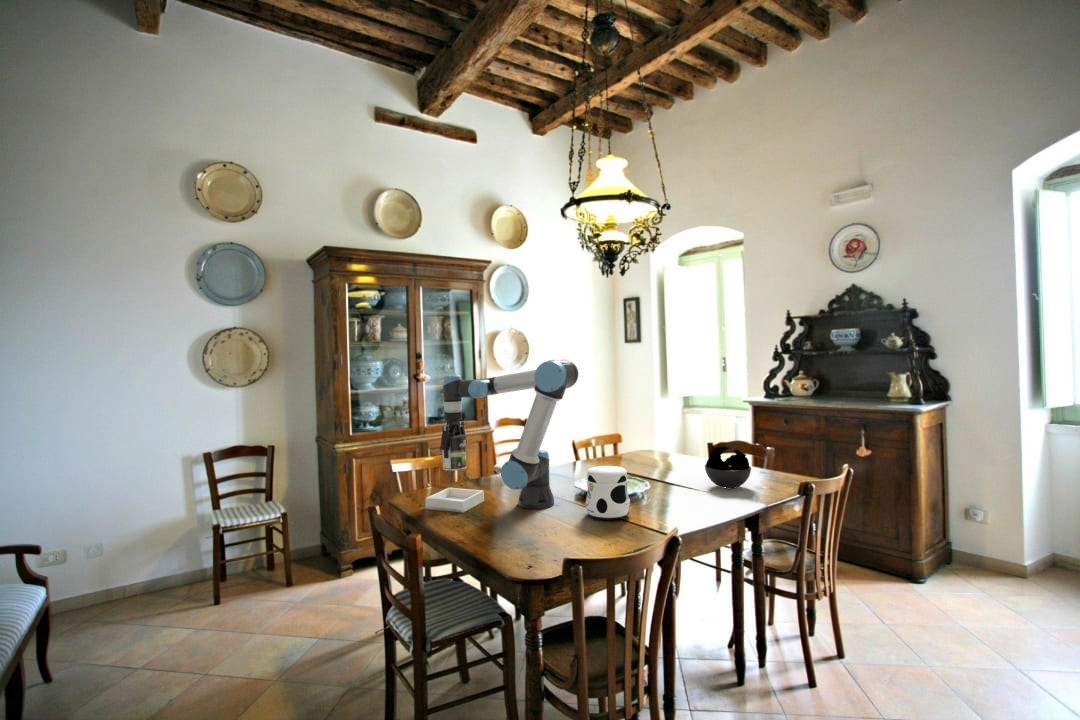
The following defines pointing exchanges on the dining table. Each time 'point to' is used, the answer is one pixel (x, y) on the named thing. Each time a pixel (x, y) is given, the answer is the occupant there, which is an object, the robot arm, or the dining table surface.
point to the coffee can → (456, 453)
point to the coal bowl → (727, 468)
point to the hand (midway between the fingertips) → (454, 462)
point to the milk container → (607, 492)
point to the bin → (455, 499)
